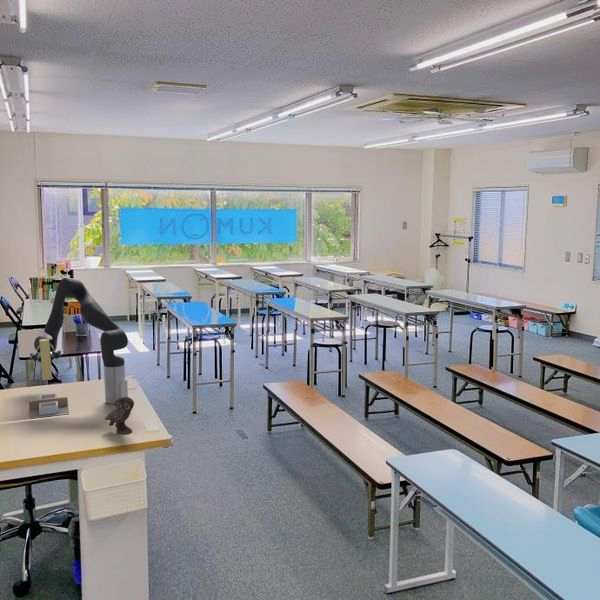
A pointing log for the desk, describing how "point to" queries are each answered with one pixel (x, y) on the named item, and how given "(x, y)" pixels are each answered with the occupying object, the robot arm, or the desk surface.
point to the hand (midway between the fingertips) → (45, 359)
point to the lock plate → (48, 406)
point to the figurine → (121, 415)
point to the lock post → (45, 359)
